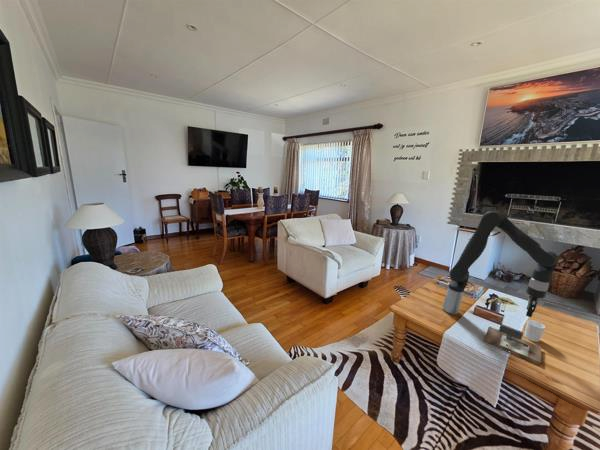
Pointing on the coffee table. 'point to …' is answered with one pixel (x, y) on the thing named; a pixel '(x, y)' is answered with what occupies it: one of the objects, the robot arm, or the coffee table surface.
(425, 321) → the coffee table surface
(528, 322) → the white cup
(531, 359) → the tuner board
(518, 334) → the peg key
